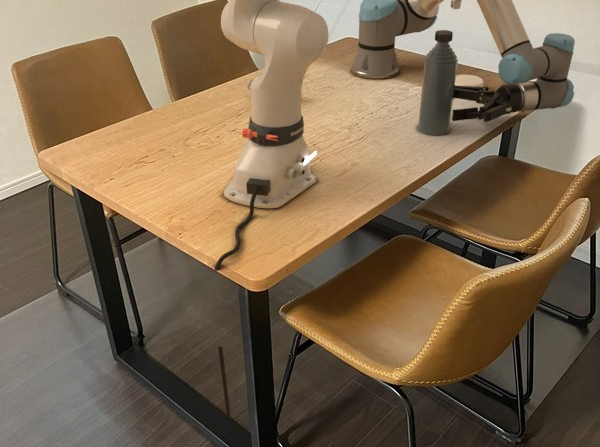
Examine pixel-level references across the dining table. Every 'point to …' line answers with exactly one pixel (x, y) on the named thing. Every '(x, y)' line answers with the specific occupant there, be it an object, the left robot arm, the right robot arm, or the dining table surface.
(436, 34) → the cap
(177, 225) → the dining table surface
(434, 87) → the bottle
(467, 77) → the cream round disc
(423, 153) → the dining table surface
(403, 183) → the dining table surface
